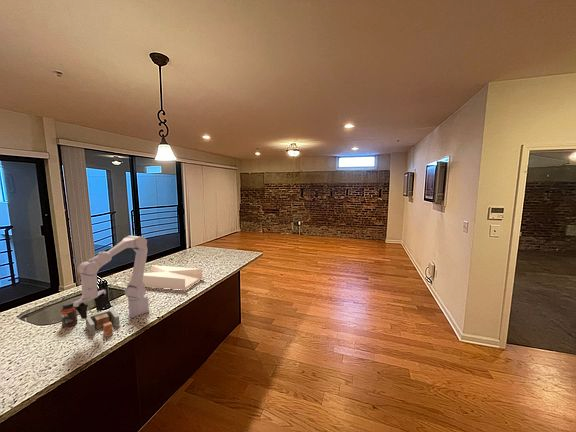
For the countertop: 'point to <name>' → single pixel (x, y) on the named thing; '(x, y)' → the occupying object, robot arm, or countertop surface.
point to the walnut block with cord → (104, 324)
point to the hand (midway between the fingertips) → (91, 314)
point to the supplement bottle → (68, 314)
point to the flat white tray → (171, 277)
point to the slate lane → (91, 320)
